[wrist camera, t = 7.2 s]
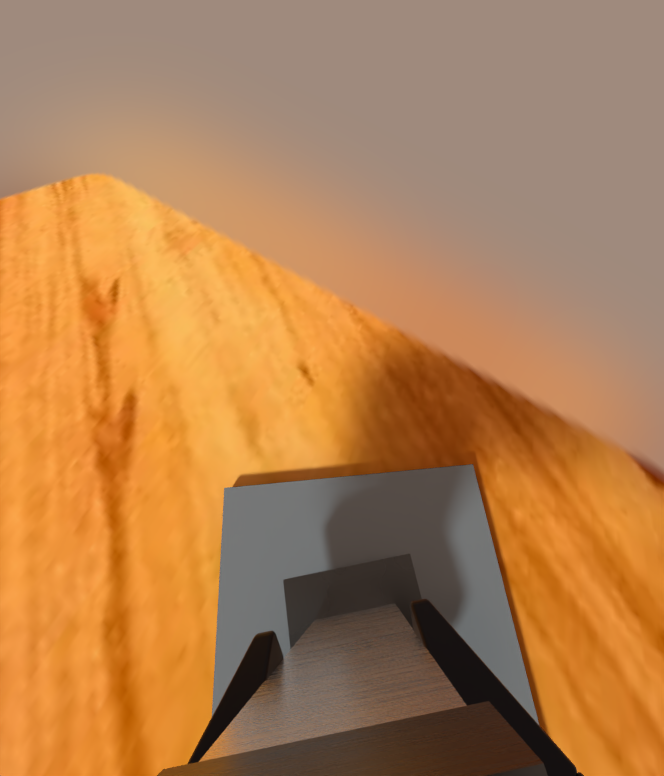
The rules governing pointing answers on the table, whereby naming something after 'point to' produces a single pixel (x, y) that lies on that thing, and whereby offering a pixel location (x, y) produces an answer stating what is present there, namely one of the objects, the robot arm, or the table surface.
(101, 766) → the table surface
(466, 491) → the plate
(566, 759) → the robot arm
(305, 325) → the table surface
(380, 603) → the tray topped pillar
